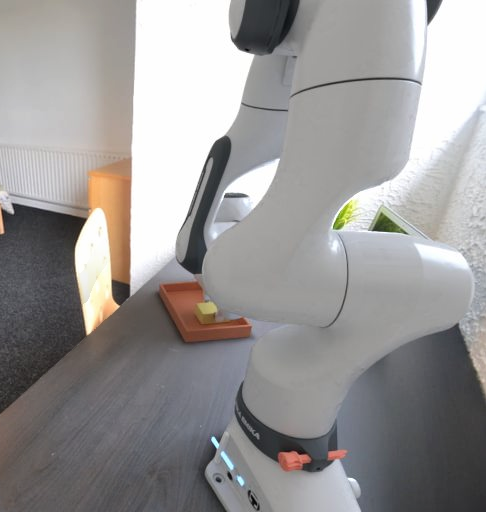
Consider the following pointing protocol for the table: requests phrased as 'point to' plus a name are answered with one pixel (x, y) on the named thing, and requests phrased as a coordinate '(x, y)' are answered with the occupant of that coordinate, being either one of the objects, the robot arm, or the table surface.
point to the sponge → (207, 313)
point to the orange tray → (183, 313)
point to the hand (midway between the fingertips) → (212, 312)
